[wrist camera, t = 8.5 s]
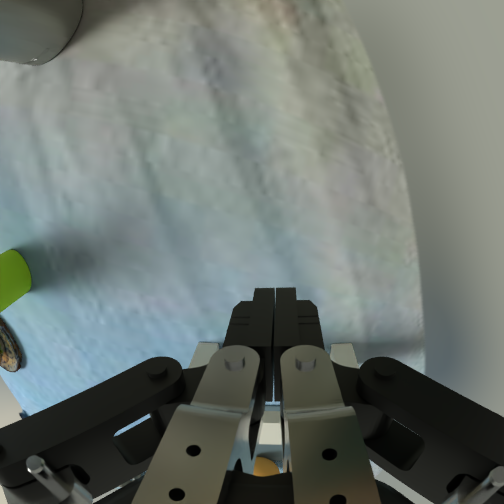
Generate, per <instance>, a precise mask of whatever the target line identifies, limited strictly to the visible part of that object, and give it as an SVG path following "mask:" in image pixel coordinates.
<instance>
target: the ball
mask: <svg viewBox="0 0 504 504" xmlns="http://www.w3.org/2000/svg"><path fill="white" fill-rule="evenodd" d="M275 474H280V472H279V469H278V467H277V466H276V464H275V463H274V462H273V461H271V460H269V459H267V458H264V457H256V459H255V464H254V472H253V475H256V476H270V475H275Z"/></svg>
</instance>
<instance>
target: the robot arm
mask: <svg viewBox="0 0 504 504" xmlns="http://www.w3.org/2000/svg"><path fill="white" fill-rule="evenodd" d="M82 8H83V6H82V0H0V60H1V61H8V62H15V63H19V64H27V65H33V66H35V65H41V64H44V63H46V62H47V61H49V60H51V59H52V58H53V57H55V56H56V55H57V54H58V53H59V52H60V51H61V50H62V49H63V48H64V47H65V45H66V44H67V43H68V41H69V40H70V39H71V37H72V35H73V34H74V32H75V30H76V28H77V26H78V24H79V21H80V18H81V15H82ZM273 381H274V398H275V401H280V429H281V444H282V460H283V473H280V474H275V475H270V476H256V475H253V472H254V464H255V459H256V455H257V450H258V445H259V440H260V434H261V429H262V424H263V414H264V411H265V401H267V402H272V400H273ZM147 414H150V416H151V417H150V418H148V419H147V420H145V421H143V422H141V423H140V424H138V425H136V426H134V427H132V428H131V429H129V430H127V431H125V432H123V433H121V434H120V435H118V436H114V434H115V433H116V432H117V431H118V430H120V429H122V428H124V427H126V426H127V425H129V424H131V423H133V422H135V421H137V420H138V419H140V418H142V417H144V416H145V415H147ZM395 420H396V421H395ZM398 422H399V423H398ZM401 424H402V425H401ZM406 427H407V428H406ZM409 429H410V430H409ZM412 431H413V432H412ZM417 434H418V435H417ZM369 459H370V460H371V461H373V462H374V463H375V464H377V465H378V466H379V467H381V468H382V469H384V470H385V471H386V472H388V473H389V474H391V475H392V476H393V477H395V478H396V479H398V480H399V481H401V482H402V483H404V484H405V485H407V486H408V487H410V488H411V489H412V490H414V491H416V492H417V493H419V494H420V495H422V496H423V497H425V498H426V499H428V500H429V501H431V502H433V503H434V504H504V417H502V416H500V415H498V414H497V413H495V412H492V411H491V410H489V409H487V408H485V407H483V406H481V405H479V404H477V403H475V402H474V401H472V400H470V399H468V398H466V397H464V396H462V395H460V394H458V393H457V392H455V391H453V390H451V389H449V388H447V387H445V386H443V385H442V384H440V383H438V382H436V381H434V380H432V379H431V378H429V377H427V376H425V375H423V374H421V373H420V372H418V371H416V370H414V369H412V368H410V367H409V366H407V365H405V364H403V363H401V362H400V361H398V360H396V359H393V358H389V357H375V358H371V359H369V360H367V361H365V362H364V363H363V364H362V365H361V367H360V369H359V368H352V367H347V366H342V365H339V364H337V363H335V362H334V361H332V360H331V358H330V356H329V354H328V353H327V352H326V351H325V349H324V343H323V337H322V332H321V326H320V321H319V317H318V310H317V307H316V306H315V305H314V304H313V303H312V302H311V301H310V300H297V299H296V288H295V287H293V288H276V303H275V288H255V291H254V297H253V301H241V302H240V303H238V304H237V305H236V306H235V307H234V308H233V311H232V315H231V319H230V322H229V326H228V329H227V333H226V337H225V340H224V344H223V348H221V349H219V350H218V351H216V352H215V353H214V354H213V355H212V357H211V358H210V361H209V363H208V364H206V365H204V366H200V367H195V368H188V369H182V367H181V365H180V363H179V362H178V361H177V360H175V359H173V358H170V357H154V358H151V359H148V360H146V361H144V362H142V363H140V364H138V365H136V366H134V367H132V368H130V369H128V370H126V371H124V372H122V373H120V374H118V375H116V376H114V377H112V378H110V379H108V380H106V381H104V382H102V383H100V384H98V385H96V386H94V387H91V388H89V389H87V390H85V391H83V392H81V393H79V394H77V395H75V396H73V397H70V398H68V399H66V400H64V401H62V402H60V403H58V404H55V405H53V406H51V407H49V408H47V409H44V410H42V411H40V412H38V413H35V414H33V415H31V416H29V417H26V418H24V419H22V420H19V421H17V422H15V423H12V424H10V425H8V426H5V427H3V428H0V485H1V486H2V487H3V490H4V493H5V496H6V499H7V502H8V504H92V502H93V499H94V498H96V497H98V496H100V495H102V494H104V493H106V492H108V491H110V490H112V489H114V488H116V487H118V486H120V485H122V484H123V483H125V482H127V481H129V480H131V479H132V478H134V477H136V476H138V475H140V474H141V473H143V472H145V471H146V470H147V471H146V473H145V476H142V477H140V478H138V479H135V480H134V481H132V482H130V483H128V484H127V485H125V486H123V487H122V488H120V489H118V490H116V491H115V492H113V493H111V494H109V495H108V496H106V497H104V498H102V499H100V500H99V501H97V502H95V503H93V504H414V503H413V502H412V501H410V500H409V499H408V498H406V497H405V496H403V495H402V494H401V493H399V492H398V491H397V490H395V489H394V488H392V487H391V486H389V485H387V484H385V483H383V482H381V481H378V480H376V479H375V478H374V475H373V471H372V467H371V464H370V460H369Z"/></svg>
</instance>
